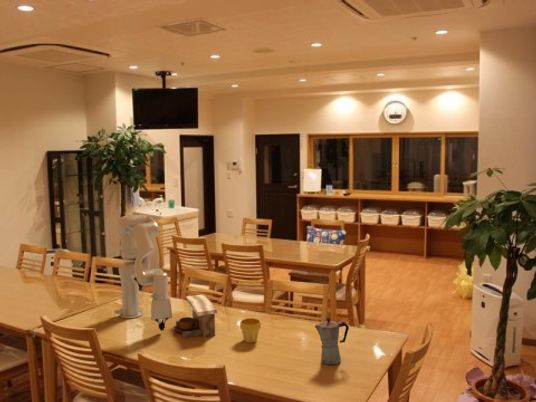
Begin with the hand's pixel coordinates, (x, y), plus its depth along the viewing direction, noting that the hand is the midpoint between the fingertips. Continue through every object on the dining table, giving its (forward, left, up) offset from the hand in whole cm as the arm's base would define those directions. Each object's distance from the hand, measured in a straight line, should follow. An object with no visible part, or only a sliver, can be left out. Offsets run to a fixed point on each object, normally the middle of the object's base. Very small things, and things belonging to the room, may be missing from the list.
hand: (161, 329), depth 264 cm
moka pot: (+66, -63, -2) cm, 92 cm away
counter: (+18, 0, -2) cm, 18 cm away
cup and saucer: (+13, -1, -3) cm, 13 cm away
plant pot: (+40, -26, -2) cm, 48 cm away
